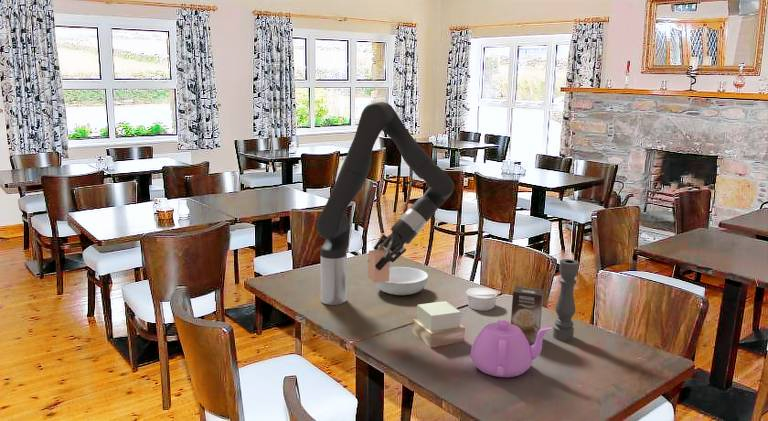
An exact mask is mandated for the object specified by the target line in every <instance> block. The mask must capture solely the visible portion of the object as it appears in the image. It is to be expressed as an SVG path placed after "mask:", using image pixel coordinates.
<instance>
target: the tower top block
mask: <svg viewBox="0 0 768 421" xmlns="http://www.w3.org/2000/svg"><path fill="white" fill-rule="evenodd" d="M461 314H462V312H461V311H460V310H459V309H458V308H456V307H455V306H454V305H452V304H450V303H449V302H447V301H446V300H445V301H436V302H429V303H428V302H427V303H421V304H420V303H418V304H417V306H416V319H417V320H418V321H419V322H420V323H422V324H423V325H424V326H425V327H426V328H428V329H429V330H430V331H437V330H444V329H450V328H457V327H460V324H461Z"/></svg>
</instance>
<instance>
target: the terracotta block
mask: <svg viewBox="0 0 768 421" xmlns="http://www.w3.org/2000/svg"><path fill="white" fill-rule="evenodd" d="M385 253H386V251H385V250H375V249H373V250H368V260H369V262H368V263H367V264H368V266H367V268H368V269H367V270H368V271H367V278H368V279H369V280H371V281H372V282H373V283H374V284H375V283H377V282H385V281H389V267H390V266H391V265H390V262H391V261H390V262H387V263H386V265H385V266H384V267H383V268H382V269H381V270H378V269H377V268H376V267H375V265H376V264H377V263H378V262H379V261H380V259H381V258H382V257H383V256H384V254H385ZM388 255H389V254H388Z"/></svg>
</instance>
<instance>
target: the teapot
mask: <svg viewBox="0 0 768 421" xmlns="http://www.w3.org/2000/svg"><path fill="white" fill-rule="evenodd" d="M552 328H553V326H551V327H550V326H548V327H547V326H546V327H542V328H540V330H539V331H538V333H537V337H536V341H535V343H532V345H530V343H528V341H527V339H526V337H525V335H524V334H523V332H522V331H521V329H520V328H519V327H517V326H515V325H513V324H511V322H510V321H508V320H506V319H499V320H497V321H496V322H490V323H487V324H486V325H484V327H483V328H482V329H481V331H479V333H478V334H477V336H476V337H475V339H474V341H473V343H472V346H471V350H470V359H471V362H472V363H473V364H474V365H475V367H477V369H478V370H479V371H481V372H482V373H483V374H487V375H489V376H493V377H498V378H515V377H518V376H520V375H523V374H524V373H526V372H527V371H528V369H530V368H531V365H532V364H533V361H534V360H536V359H537V358H538V357H539V356H540V354H541V353H542V349H543V342H544V336H545V335H546V334H547V332H548V331H550V330H552Z"/></svg>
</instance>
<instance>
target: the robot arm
mask: <svg viewBox="0 0 768 421" xmlns="http://www.w3.org/2000/svg"><path fill="white" fill-rule="evenodd" d="M381 132H384V133H385V134H386V135H387V136H388V137H389V138H390V139H391V140H392V142H393V143H394V144H395V146H396V147H397V149H398V152H399V153H400V155H401V158H402V159H403V161H404V162H405V164H407V166H408V167H409V169H411V171H412V172H413V173H414V174H415V175H416V176H417V177H418V178H420V180H423V181H424V182H425V183H426V184H427V185H428V187H429V188H428V189H427V190H426V191H425V192H424V193H423V195H422V196H420V197H419V198H418V199H417V200H416V201H415V202H414V203H413V204H412V205H411V206H410V208H408V209H407V210H406V211H405V212H404V213H403V214H402V215H401V216H400V217H399V218H398V220H396V221H395V223H394V224H393V225H392V226H391V228H390V231H391V233H390V234H389V235H388V236H387V235H386V234H382V235H381V236H380V238H379V239H378V240H377V242H376V244H375V245H374V247H373V250H385V251H386V253H385V254H384V256H383V257H382V258H381V259H380V261H379V262H378V263H377V264H376V265H375V267H376V268H377V269H378V270H381V269H382V268H383V267H384V266H385V265H386V263H387V262H391V263H394V262H395V261H397V260H398V259H399V258H400V257H401V256H402V255H403V254H404V253H405V252H407V248H405V246H404V245H405V244H406V245H409V244H410V243H411V242H412V241H413V240H414V238H416V236H417V235H418V234H419V233H420V232H421V230H422V229H423V228H424V226H425V225H426V224H427V222H429V220H431V218H432V217H433V216H434V215H435V213H436V211H437V210H438V209H439V208H440V207H441V206H442V205H444V203H446V201H447V200H449V198H450V197H451V196H452V194H453V191H454V188H455V183H454V181H453V179H452V178H451V176H449V175H448V174H447V172H446V171H444V169H443V168H441V167H440V166H439V165H437V164H436V163H435V162H434V160H433V159H432V158H431V156H429V155H428V153H427V152H426V151H425V150H424V149H423V148H422V147H421V145H420V144H418V142H417V140H415V139H414V137H413V136H412V135H411V134H410V131H409V130H408V129H407V127H406V126H405V125H404V123H403V121H402V120H401V119H400V117H399V114H397V112H396V110H395V109H394V107H393V106H392V105H391V104H390V103H389V102H385V101H377V102H376V101H375V102H372V103H369V104H368V105H366V106H365V107H364V108H363V109H362V111H361V115H360V118H359V121H358V125H357V129H356V131H355V134H354V138H353V140H352V142H351V144H350V147H349V149H348V151H347V154H346V156H345V159H344V160H343V162H342V165H341V167H340V170H339V172H338V174H337V178H336V181H335V183H334V186H333V187H332V189H331V192H330V194H329V197H328V199H327V201H326V204H325V206H324V207H323V209H322V210H321V213H320V214H319V216H318V218H317V220H316V230H317V231H316V232H317V234H318V235H319V236H320V237H321V239H322V238H323V239H325V241H324V242H323V244H322V245H321V247H320V302H321V303H322V304H324V305H329V306H337V305H338V306H339V305H341V304H344V303H346V302H347V251H348V248H349V246H350V245H349V244H350V243H349V242H350V221H349V217H348V215H347V213H346V211H347V208H348V207H349V205H350V204H351V203H352V201H353V200H354V199H355V197H356V196H357V195H358V194H359V192H360V191H361V189H362V188H363V186H364V184H365V182H366V180H367V177H368V175H369V172H370V171H371V167H372V156H373V154H372V153H373V149H374V147H375V146H374V145H375V144H376V141H377V139H378V138H379V135H380V133H381ZM388 254H389V255H388ZM367 262H368V263H369V259H368V260H367Z"/></svg>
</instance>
